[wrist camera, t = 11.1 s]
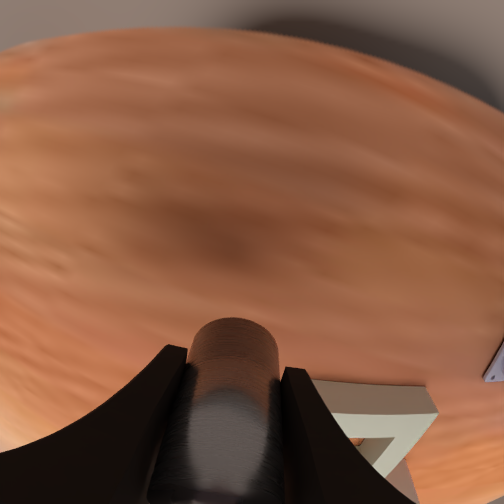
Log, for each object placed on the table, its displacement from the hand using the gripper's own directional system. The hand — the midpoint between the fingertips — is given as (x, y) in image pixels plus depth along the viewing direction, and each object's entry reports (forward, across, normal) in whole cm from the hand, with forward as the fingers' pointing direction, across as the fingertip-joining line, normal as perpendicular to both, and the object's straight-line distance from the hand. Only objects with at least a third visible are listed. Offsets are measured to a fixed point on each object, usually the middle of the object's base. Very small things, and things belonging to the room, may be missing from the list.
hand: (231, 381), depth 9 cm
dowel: (+1, 0, 0) cm, 1 cm away
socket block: (+8, -10, +12) cm, 17 cm away
